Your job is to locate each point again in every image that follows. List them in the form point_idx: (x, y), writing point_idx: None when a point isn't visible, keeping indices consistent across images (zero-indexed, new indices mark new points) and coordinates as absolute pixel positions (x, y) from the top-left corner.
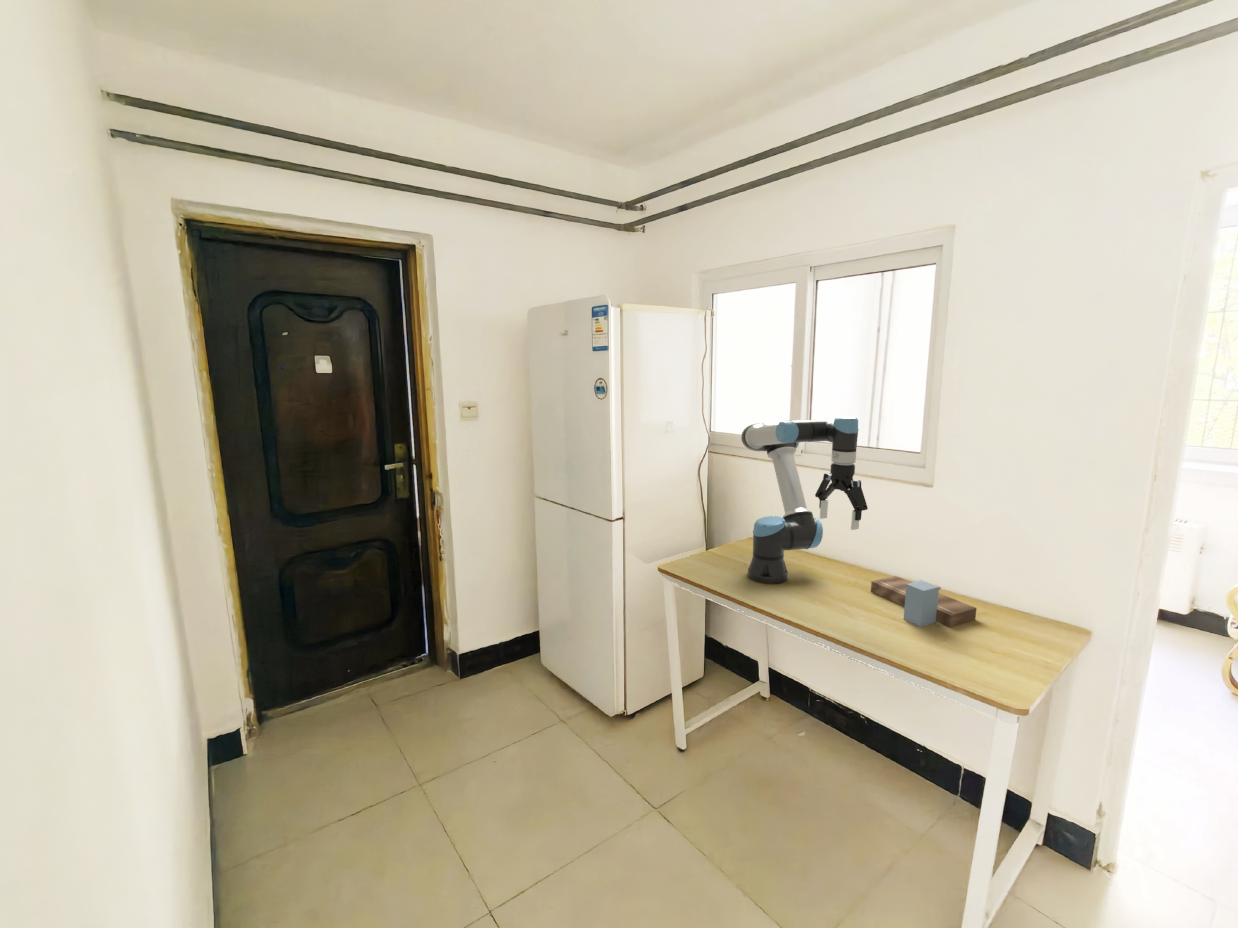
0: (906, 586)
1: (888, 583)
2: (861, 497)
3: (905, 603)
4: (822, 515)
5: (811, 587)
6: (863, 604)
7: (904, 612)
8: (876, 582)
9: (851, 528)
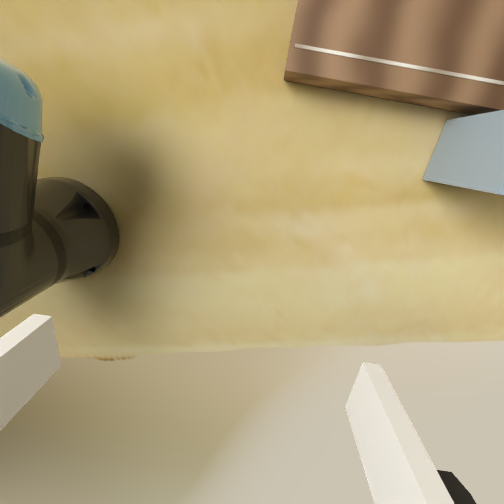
0: (490, 192)
1: (333, 33)
2: None
3: (450, 184)
4: (38, 380)
5: (173, 196)
6: (313, 180)
7: (433, 181)
8: (301, 65)
9: (351, 415)
